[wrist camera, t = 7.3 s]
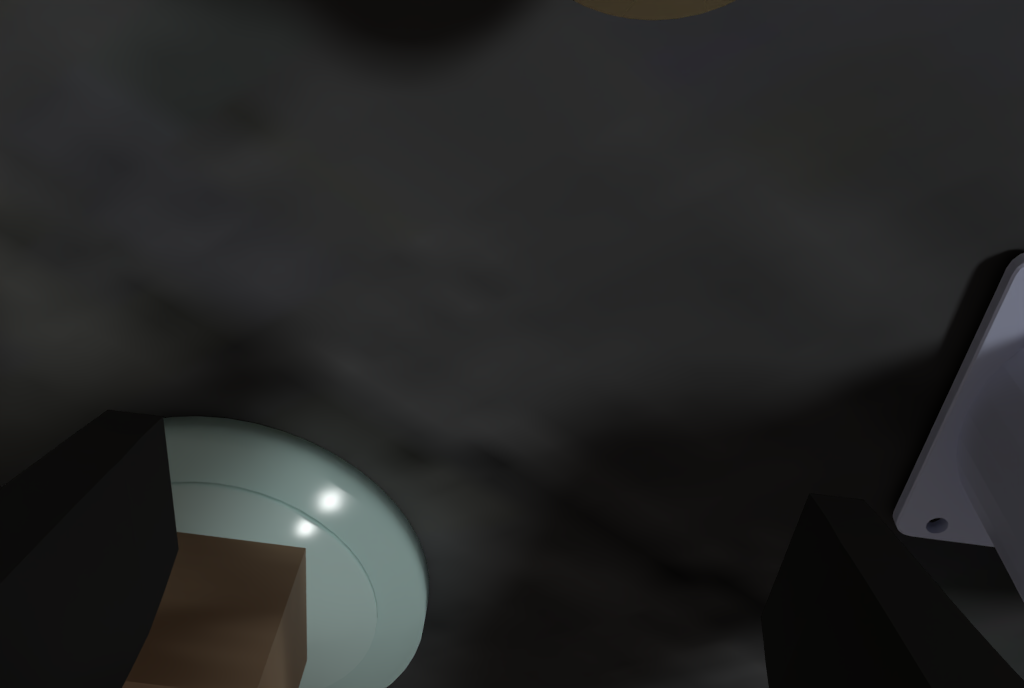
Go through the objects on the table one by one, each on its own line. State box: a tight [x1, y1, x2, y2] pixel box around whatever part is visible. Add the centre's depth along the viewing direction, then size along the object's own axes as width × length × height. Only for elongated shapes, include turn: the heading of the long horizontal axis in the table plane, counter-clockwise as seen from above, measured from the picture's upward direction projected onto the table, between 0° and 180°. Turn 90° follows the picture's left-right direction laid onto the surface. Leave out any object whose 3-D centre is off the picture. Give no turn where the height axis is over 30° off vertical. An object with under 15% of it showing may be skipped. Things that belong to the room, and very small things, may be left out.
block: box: [122, 532, 307, 688], centre depth 23 cm, size 4×4×4 cm
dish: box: [163, 416, 429, 688], centre depth 26 cm, size 11×11×1 cm
